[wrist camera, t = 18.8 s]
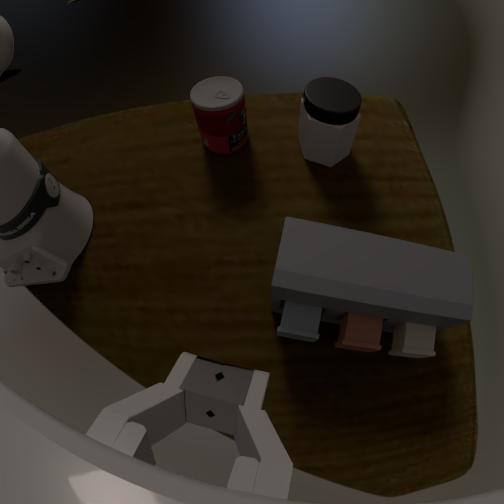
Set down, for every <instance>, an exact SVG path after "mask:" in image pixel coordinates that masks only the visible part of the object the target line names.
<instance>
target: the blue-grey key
mask: <svg viewBox="0 0 504 504" xmlns="http://www.w3.org/2000/svg"><path fill="white" fill-rule="evenodd" d="M321 312H322V308H321V307H316V306H311V305H305V304H300V303H295V302H290V301H285V305H284V310H283V315H282V319H281V324H280V326H278V329H277V334H276V335H278V336H283V337H288V338H293V339H298V340H303V341H309V342H314V341H316V340H318V339H319V334H318V328H319V323H320V317H321Z"/></svg>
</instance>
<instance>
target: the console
mask: <svg viewBox="0 0 504 504" xmlns="http://www.w3.org/2000/svg"><path fill="white" fill-rule="evenodd" d="M472 269H473V268H472V257H471V256H467V255H463V254H459V253H455V252H451V251H447V250H443V249H438V248H434V247H430V246H426V245H421V244H417V243H413V242H408V241H404V240H399V239H395V238H390V237H386V236H381V235H376V234H372V233H367V232H362V231H357V230H352V229H347V228H343V227H338V226H333V225H327V224H322V223H317V222H312V221H307V220H301V219H296V218H291V217H286V218H285V223H284V228H283V233H282V238H281V243H280V247H279V252H278V257H277V262H276V266H275V271H274V276H273V280H272V285H271V311H272V312H276V313H281V314H283V310H284V305H285V301H290V302H295V303H300V304H305V305H311V306H316V307H321V308H322V312H321V317H320V321H324V322H329V323H335V324H340V323H341V317H342V314H344V313H345V312H349V313H355V314H361V315H366V316H372V317H378V318H383V324H382V331H383V332H390V333H394V326H396V325H398V324H401V323H403V322H410V323H416V324H423V325H430V326H436V332H438V331H441V330H444V329H447V328H451V327H454V326H457V325H460V324H463V323H466V322H469V321H471V320H472V299H473V271H472Z"/></svg>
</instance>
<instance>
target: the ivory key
mask: <svg viewBox="0 0 504 504" xmlns="http://www.w3.org/2000/svg"><path fill="white" fill-rule="evenodd" d="M435 334H436V326H430V325H423V324H416V323H410V322H403V323H401V324H398V325H396V326H394V333H393V340H392V347H391V350H389V353H388V355H396V356H404V357H412V358H424V357H431V356H435V354H436V352H435V351H434V344H435Z"/></svg>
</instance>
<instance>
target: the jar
mask: <svg viewBox="0 0 504 504" xmlns="http://www.w3.org/2000/svg"><path fill="white" fill-rule="evenodd" d="M360 106H361V95H360V93H359V92H358V90H357V89H356V88H355V87H354V86H352V85H351V84H349V83H347V82H345V81H343V80H340V79H337V78H330V77H322V78H317V79H314V80H312V81H310V82H309V83H308V84H307V85H306V87H305V90H304V94H303V98H302V99H301V109H300V121H299V133H298V140H299V143H300V147H301V150H302V153H303V157H304V159H306V160H310V161H313V162H316V163H319V164H322V165H325V166H328V167H332V166H334V165H335V164H336V163H338V162H339V161H341V160H342V159H344V158H345V157H346V156H348V155H349V154H350V151H351V147H352V144H353V141H354V137H355V134H356V131H357V127H358V124H359V121H360V117H361V116H360V114H359V109H360Z"/></svg>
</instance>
